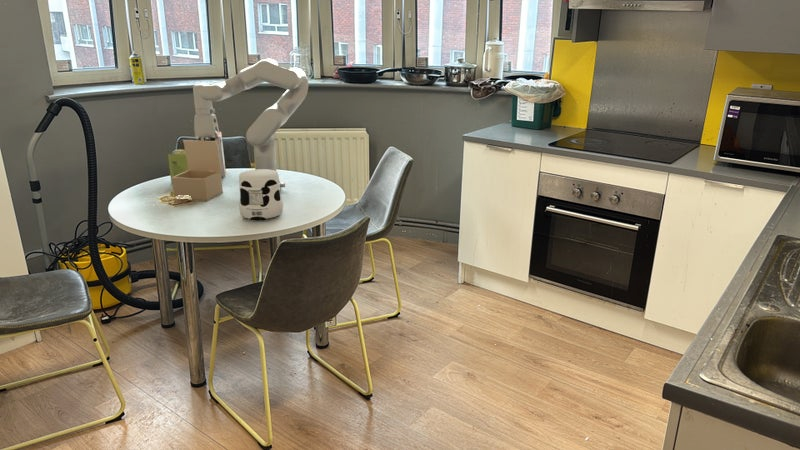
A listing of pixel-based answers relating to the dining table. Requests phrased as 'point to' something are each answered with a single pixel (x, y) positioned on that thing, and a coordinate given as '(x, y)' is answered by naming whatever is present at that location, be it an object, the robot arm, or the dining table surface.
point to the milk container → (260, 195)
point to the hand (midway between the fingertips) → (208, 151)
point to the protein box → (177, 163)
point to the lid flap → (202, 155)
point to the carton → (198, 184)
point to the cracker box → (221, 154)
